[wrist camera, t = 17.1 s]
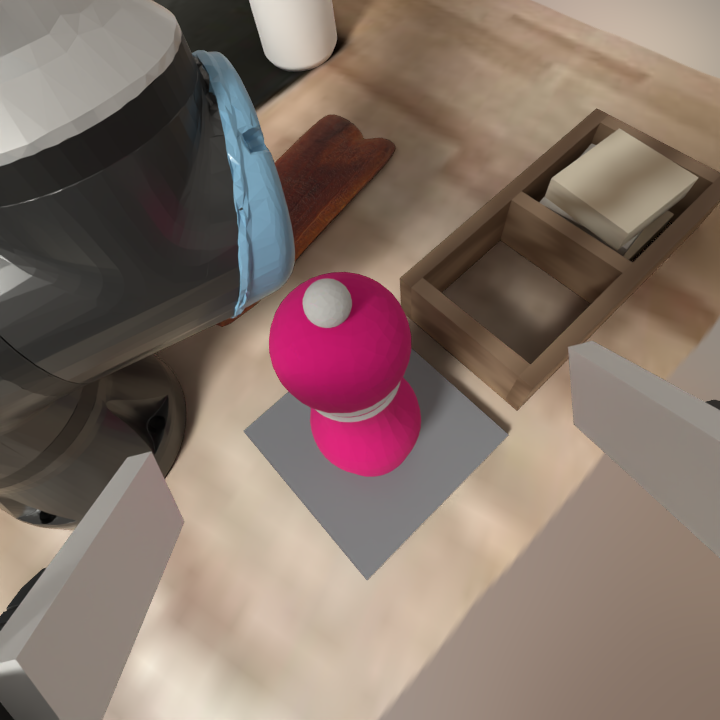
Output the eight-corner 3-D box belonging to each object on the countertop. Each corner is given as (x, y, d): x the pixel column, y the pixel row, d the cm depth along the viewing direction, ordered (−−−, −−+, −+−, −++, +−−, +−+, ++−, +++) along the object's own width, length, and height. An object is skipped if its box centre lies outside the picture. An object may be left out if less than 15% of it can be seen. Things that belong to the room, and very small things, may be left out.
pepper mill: (413, 383, 35) (414, 194, 17) (426, 478, 32) (446, 375, 14) (320, 394, 35) (223, 222, 17) (325, 489, 33) (216, 402, 14)
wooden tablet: (328, 118, 50) (326, 104, 49) (403, 152, 47) (402, 139, 45) (153, 289, 43) (143, 279, 42) (226, 343, 40) (218, 335, 38)
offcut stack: (519, 229, 41) (536, 179, 35) (581, 174, 43) (606, 117, 37) (604, 287, 38) (637, 241, 32) (667, 224, 39) (708, 171, 34)
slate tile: (247, 434, 36) (243, 431, 35) (376, 321, 39) (375, 315, 38) (368, 579, 31) (366, 580, 30) (506, 438, 34) (508, 434, 33)
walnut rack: (401, 311, 39) (399, 278, 34) (577, 155, 44) (596, 108, 39) (517, 410, 34) (533, 388, 30) (699, 225, 39) (737, 181, 34)
